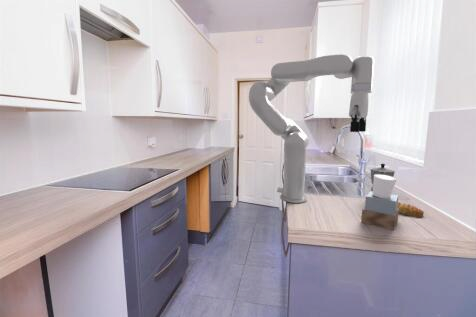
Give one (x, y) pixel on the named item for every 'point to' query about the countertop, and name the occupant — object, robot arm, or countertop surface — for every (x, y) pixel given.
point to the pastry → (409, 210)
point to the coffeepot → (381, 172)
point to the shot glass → (383, 185)
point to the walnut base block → (380, 219)
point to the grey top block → (381, 204)
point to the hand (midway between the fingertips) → (357, 131)
